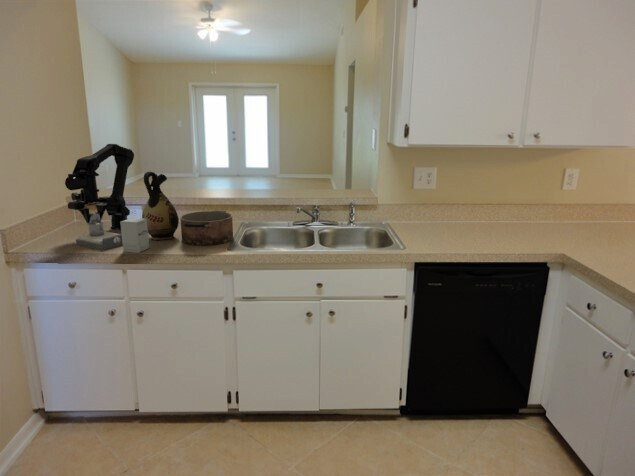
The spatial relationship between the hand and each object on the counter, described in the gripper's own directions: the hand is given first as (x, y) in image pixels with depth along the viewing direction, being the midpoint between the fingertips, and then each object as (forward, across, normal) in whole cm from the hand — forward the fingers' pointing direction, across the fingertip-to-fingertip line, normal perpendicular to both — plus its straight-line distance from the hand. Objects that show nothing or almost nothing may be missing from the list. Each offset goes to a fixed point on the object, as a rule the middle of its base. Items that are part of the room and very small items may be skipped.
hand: (94, 221), depth 189 cm
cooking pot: (+7, -22, +47) cm, 52 cm away
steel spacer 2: (+4, +6, +10) cm, 12 cm away
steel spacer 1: (+1, 0, 0) cm, 1 cm away
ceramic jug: (+7, -12, +28) cm, 31 cm away
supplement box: (+7, +6, +34) cm, 35 cm away
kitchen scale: (+7, +6, +14) cm, 17 cm away
